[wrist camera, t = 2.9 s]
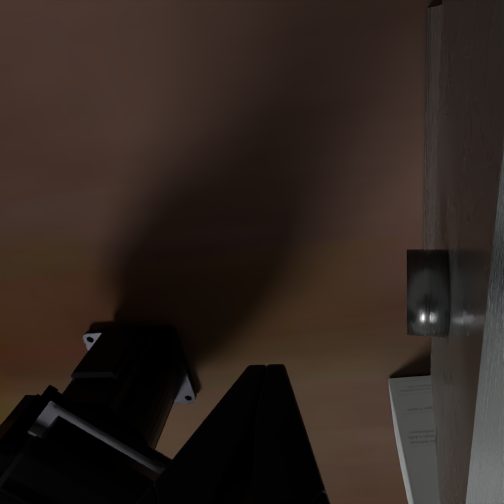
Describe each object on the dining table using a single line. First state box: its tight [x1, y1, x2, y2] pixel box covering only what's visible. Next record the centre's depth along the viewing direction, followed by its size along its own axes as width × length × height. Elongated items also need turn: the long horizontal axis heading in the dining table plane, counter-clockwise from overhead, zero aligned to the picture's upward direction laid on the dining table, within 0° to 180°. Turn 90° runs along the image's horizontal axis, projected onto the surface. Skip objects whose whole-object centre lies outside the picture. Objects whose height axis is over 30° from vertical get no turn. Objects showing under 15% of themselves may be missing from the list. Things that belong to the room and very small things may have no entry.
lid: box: [407, 0, 504, 504], centre depth 11 cm, size 15×10×2 cm
